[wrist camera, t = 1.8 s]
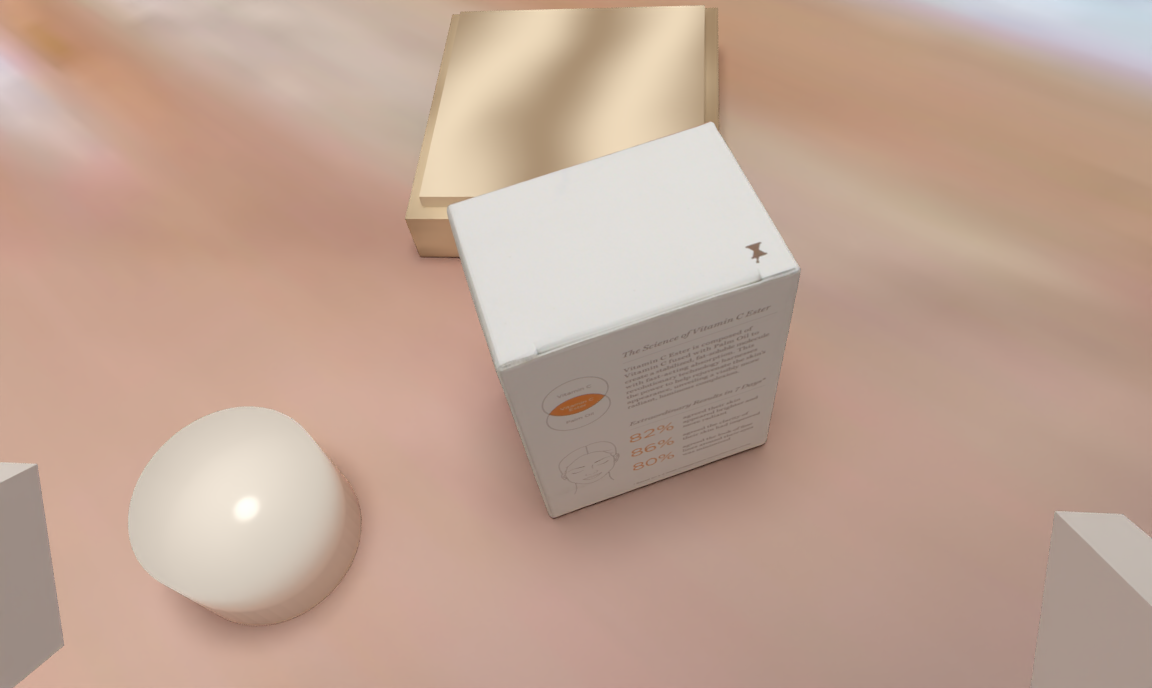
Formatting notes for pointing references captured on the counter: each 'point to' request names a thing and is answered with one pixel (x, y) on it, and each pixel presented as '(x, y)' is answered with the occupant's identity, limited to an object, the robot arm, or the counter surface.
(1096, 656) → the robot arm
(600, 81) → the podium
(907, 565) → the counter surface
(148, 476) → the cream smooth rounded part
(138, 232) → the counter surface
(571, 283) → the small box
